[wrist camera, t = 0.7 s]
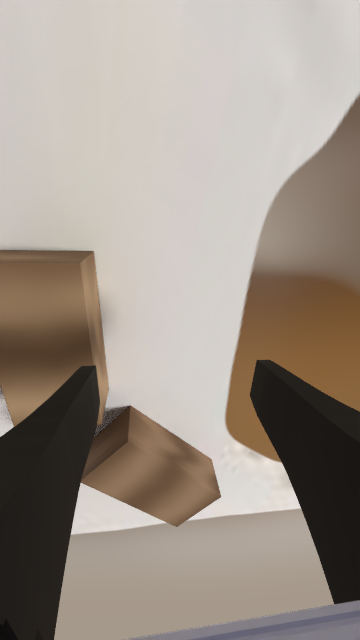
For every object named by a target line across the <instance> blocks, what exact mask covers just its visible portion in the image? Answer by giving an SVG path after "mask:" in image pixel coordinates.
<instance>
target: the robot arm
mask: <svg viewBox="0 0 360 640" xmlns="http://www.w3.org/2000/svg"><path fill="white" fill-rule="evenodd" d="M250 397H251V400H252V403H253V405H254V408H255V411H256V413H257V416H258V418H259V420H260V422H261V423H262V426H263V427H264V429H265V431H266V433H267V435H268V437H269V439H270V441H271V443H272V444H273V446H274V448H275V450H276V452H277V454H278V456H279V458H280V459H281V462H282V464H283V466H284V468H285V470H286V472H287V474H288V477H289V479H290V482H291V484H292V486H293V489H294V491H295V494H296V496H297V499H298V501H299V504H300V506H301V509H302V511H303V514H304V517H305V519H306V522H307V525H308V527H309V530H310V533H311V536H312V538H313V541H314V544H315V547H316V549H317V552H318V555H319V558H320V561H321V564H322V567H323V570H324V574H325V577H326V579H327V583H328V586H329V589H330V592H331V595H332V598H333V602H334V605H328V606H323V607H316V608H310V609H304V610H298V611H292V612H286V613H280V614H274V615H269V616H262V617H256V618H250V619H244V620H238V621H232V622H226V623H220V624H214V625H208V626H202V627H197V628H190V629H184V630H179V631H172V632H167V633H160V634H155V635H148V636H142V637H136V638H130V639H125V640H360V412H359V411H357V410H355V409H353V408H351V407H349V406H347V405H345V404H343V403H341V402H339V401H337V400H335V399H334V398H332V397H330V396H328V395H326V394H325V393H323V392H321V391H320V390H318V389H316V388H315V387H313V386H311V385H310V384H308V383H306V382H304V381H303V380H302V379H300V378H298V377H297V376H295V375H293V374H292V373H291V372H289V371H287V370H286V369H284V368H282V367H281V366H279V365H278V364H276V363H274V362H273V361H271V360H257V362H256V367H255V372H254V377H253V382H252V387H251V392H250ZM99 409H100V395H99V387H98V378H97V369H96V365H94V366H81V367H80V368H79V369H78V370H77V371H76V372H75V373H74V374H73V375H72V376H71V377H70V378H69V379H68V380H67V381H66V382H65V383H64V384H63V385H62V386H61V387H60V388H59V389H58V390H57V391H55V392H54V393H53V394H52V395H51V396H50V397H49V398H48V399H47V400H46V401H45V402H44V403H43V404H41V405H40V406H39V407H38V408H37V409H36V410H35V411H34V412H32V413H31V414H30V415H29V416H28V417H26V418H25V419H24V420H23V421H21V422H20V423H19V424H17V425H16V426H15V427H13V428H12V429H11V430H9V431H8V432H7V433H5V434H4V435H3V436H1V437H0V640H54V635H55V628H56V621H57V615H58V608H59V601H60V594H61V588H62V582H63V576H64V570H65V563H66V557H67V551H68V546H69V540H70V535H71V529H72V523H73V518H74V512H75V507H76V502H77V497H78V491H79V487H80V483H81V479H82V475H83V472H84V469H85V465H86V462H87V458H88V455H89V451H90V448H91V444H92V441H93V437H94V434H95V430H96V426H97V421H98V415H99Z"/></svg>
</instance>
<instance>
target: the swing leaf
mask: <svg viewBox="0 0 360 640" xmlns="http://www.w3.org/2000/svg"><path fill="white" fill-rule="evenodd" d="M94 365H96V369H97V378H98V387H99V395H100V409H99V415H98V421H97V425H101V424H102V419H103V414H104V410H105V405H106V400H107V395H108V390H109V387H108V377H107V368H106V359H105V350H104V341H103V331H102V322H101V313H100V304H99V294H98V285H97V276H96V267H95V257H94V251H22V250H0V385H1V389H2V392H3V395H4V398H5V401H6V404H7V407H8V410H9V413H10V416H11V419H12V422H13V425H14V427H15V426H16V425H17V424H19V423H20V422H21V421H23V420H24V419H25V418H26V417H28V416H29V415H30V414H31V413H32V412H34V411H35V410H36V409H37V408H38V407H39V406H40V405H41V404H43V403H44V402H45V401H46V400H47V399H48V398H49V397H50V396H51V395H52V394H53V393H54V392H55V391H57V390H58V389H59V388H60V387H61V386H62V385H63V384H64V383H65V382H66V381H67V380H68V379H69V378H70V377H71V376H72V375H73V374H74V373H75V372H76V371H77V370H78V369H79V368H80V367H81V366H94Z"/></svg>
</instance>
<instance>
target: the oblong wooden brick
mask: <svg viewBox="0 0 360 640" xmlns="http://www.w3.org/2000/svg"><path fill="white" fill-rule="evenodd" d="M81 483H83V484H85V485H87V486H90V487H92V488H94V489H96V490H98V491H100V492H102V493H105V494H107V495H109V496H111V497H113V498H115V499H118V500H120V501H122V502H124V503H126V504H128V505H130V506H133V507H135V508H137V509H139V510H141V511H143V512H146V513H148V514H150V515H152V516H154V517H156V518H158V519H161V520H163V521H165V522H167V523H169V524H172V525H174V526H176V527H177V526H179V525H180V524H182V523H183V522H185V521H186V520H188V519H189V518H191V517H192V516H194V515H195V514H197V513H198V512H200V511H201V510H202V509H204V508H205V507H207V506H208V505H210V504H211V503H213V502H214V501H216V500H217V499H219V498H220V497H221V495H220V491H219V487H218V483H217V479H216V475H215V471H214V467H213V463H212V459H210V458H209V457H207V456H206V455H204V454H203V453H201V452H200V451H198V450H197V449H195V448H194V447H192V446H191V445H189V444H188V443H186V442H185V441H183V440H182V439H180V438H179V437H177V436H176V435H174V434H173V433H171V432H169V431H168V430H166V429H165V428H163V427H162V426H160V425H159V424H157V423H156V422H154V421H153V420H151V419H150V418H148V417H147V416H145V415H144V414H142V413H141V412H139V411H138V410H136V409H135V408H133V407H132V406H130V407H129V408H128V409H126V410H125V411H124V412H123V413H122V414H121V415H119V416H118V417H117V418H116V419H115V420H114V421H112V422H111V423H110V424H109V425H108V426H107V427H105V428H104V429H103V430H102V431H101V432H100V433H99V434H97V435H96V436H95V437H94V438H93V441H92V444H91V448H90V451H89V455H88V458H87V462H86V465H85V469H84V472H83V475H82V479H81Z"/></svg>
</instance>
